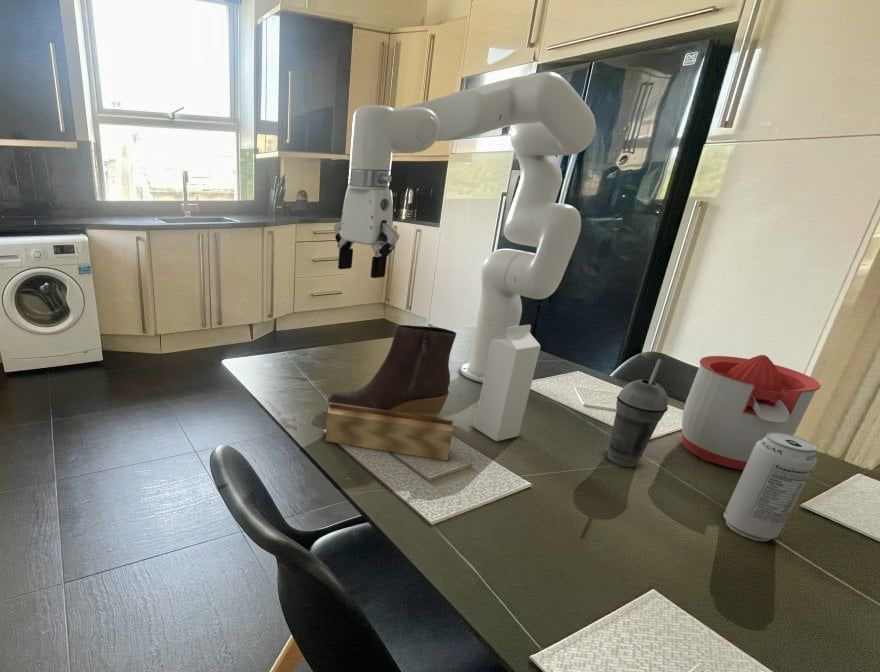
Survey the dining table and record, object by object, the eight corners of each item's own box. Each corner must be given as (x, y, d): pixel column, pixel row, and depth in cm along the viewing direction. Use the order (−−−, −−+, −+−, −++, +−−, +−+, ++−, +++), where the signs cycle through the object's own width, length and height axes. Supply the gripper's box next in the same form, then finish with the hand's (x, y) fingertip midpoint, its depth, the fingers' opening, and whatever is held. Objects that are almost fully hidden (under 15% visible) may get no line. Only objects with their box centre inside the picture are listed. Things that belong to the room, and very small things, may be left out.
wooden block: (446, 452, 89) (452, 419, 86) (447, 460, 86) (453, 427, 84) (327, 433, 94) (330, 402, 91) (325, 441, 91) (327, 408, 88)
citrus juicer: (689, 471, 85) (732, 366, 78) (658, 427, 100) (692, 335, 93) (803, 493, 80) (861, 383, 72) (753, 443, 95) (797, 347, 87)
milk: (518, 436, 95) (546, 329, 87) (495, 442, 93) (521, 332, 84) (494, 422, 100) (518, 320, 92) (472, 427, 98) (494, 322, 89)
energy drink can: (757, 520, 73) (800, 433, 68) (786, 547, 68) (835, 455, 62) (712, 513, 74) (750, 427, 69) (736, 539, 69) (780, 449, 63)
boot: (326, 402, 106) (332, 314, 99) (438, 410, 104) (453, 321, 97) (325, 421, 98) (332, 326, 91) (447, 430, 96) (464, 334, 89)
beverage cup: (638, 453, 90) (674, 353, 83) (652, 474, 84) (692, 367, 76) (594, 446, 92) (625, 347, 85) (604, 466, 86) (639, 361, 78)
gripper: (418, 182, 85) (406, 279, 92) (353, 179, 99) (346, 264, 105) (387, 182, 82) (377, 283, 88) (324, 179, 95) (319, 267, 101)
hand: (360, 272), depth 97 cm, fingers open, 9 cm apart
